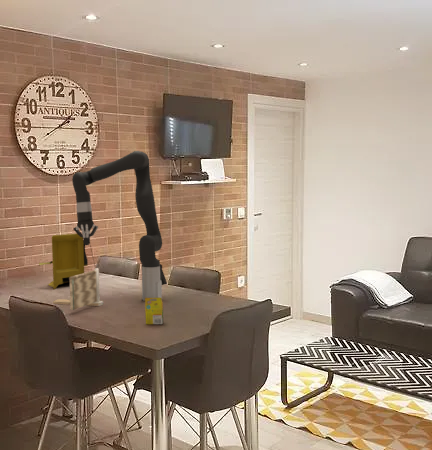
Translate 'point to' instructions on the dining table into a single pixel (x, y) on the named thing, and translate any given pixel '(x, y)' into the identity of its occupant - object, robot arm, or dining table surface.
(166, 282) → the door stopper
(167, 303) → the dining table surface
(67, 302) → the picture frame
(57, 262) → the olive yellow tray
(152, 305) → the crayon box
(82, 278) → the beige zigzag patterned panel
